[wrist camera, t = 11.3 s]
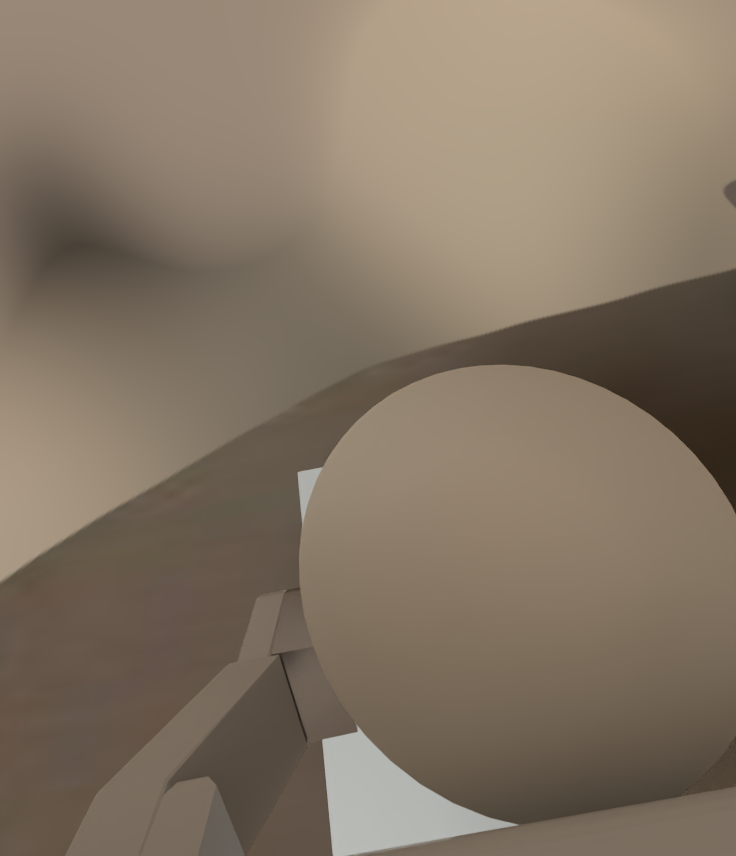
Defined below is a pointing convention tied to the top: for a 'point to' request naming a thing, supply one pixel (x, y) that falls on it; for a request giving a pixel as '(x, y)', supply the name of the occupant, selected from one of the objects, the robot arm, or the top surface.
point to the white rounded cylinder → (525, 594)
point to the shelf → (382, 787)
